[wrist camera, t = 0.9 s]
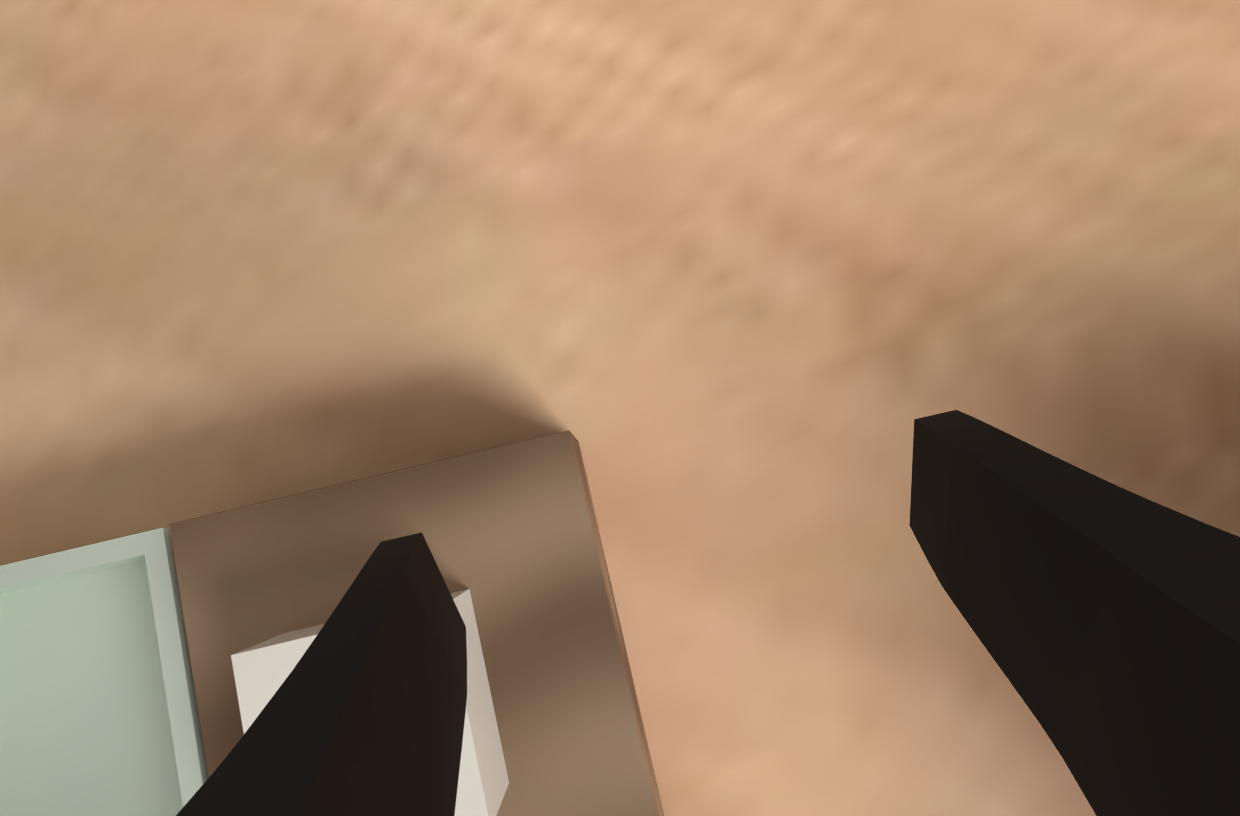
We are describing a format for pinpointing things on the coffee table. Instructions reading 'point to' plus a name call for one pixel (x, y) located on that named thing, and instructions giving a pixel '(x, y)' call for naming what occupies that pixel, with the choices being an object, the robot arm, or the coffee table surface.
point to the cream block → (481, 745)
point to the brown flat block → (468, 559)
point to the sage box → (97, 683)
